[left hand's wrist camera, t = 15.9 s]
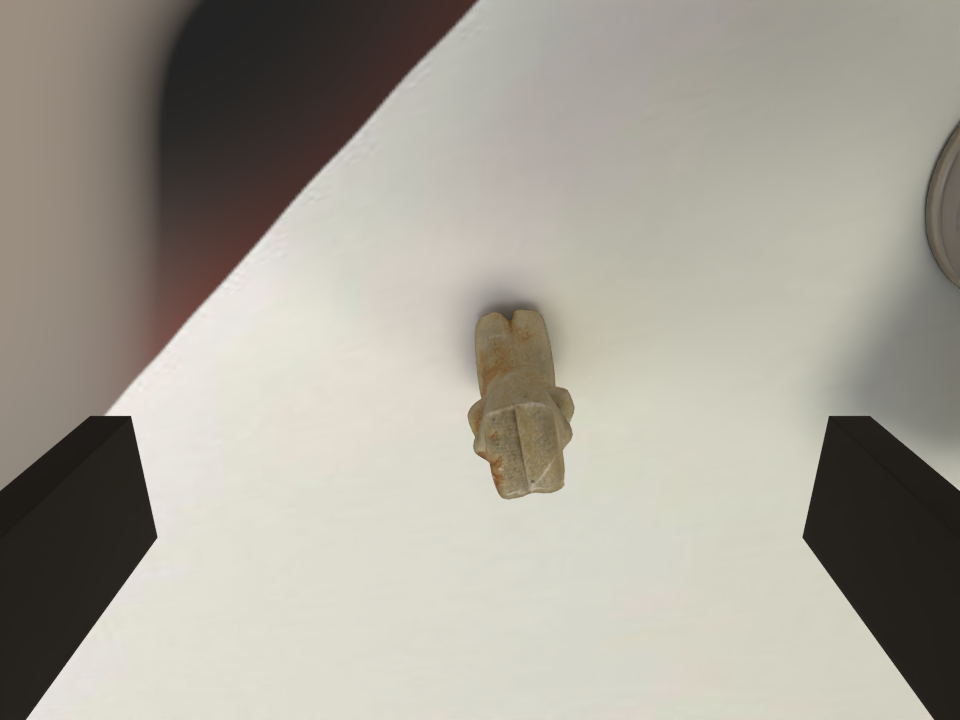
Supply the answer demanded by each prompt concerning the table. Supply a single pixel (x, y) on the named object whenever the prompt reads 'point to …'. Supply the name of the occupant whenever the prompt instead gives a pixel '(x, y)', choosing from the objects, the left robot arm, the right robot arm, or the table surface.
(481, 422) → the sculpture
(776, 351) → the table surface
